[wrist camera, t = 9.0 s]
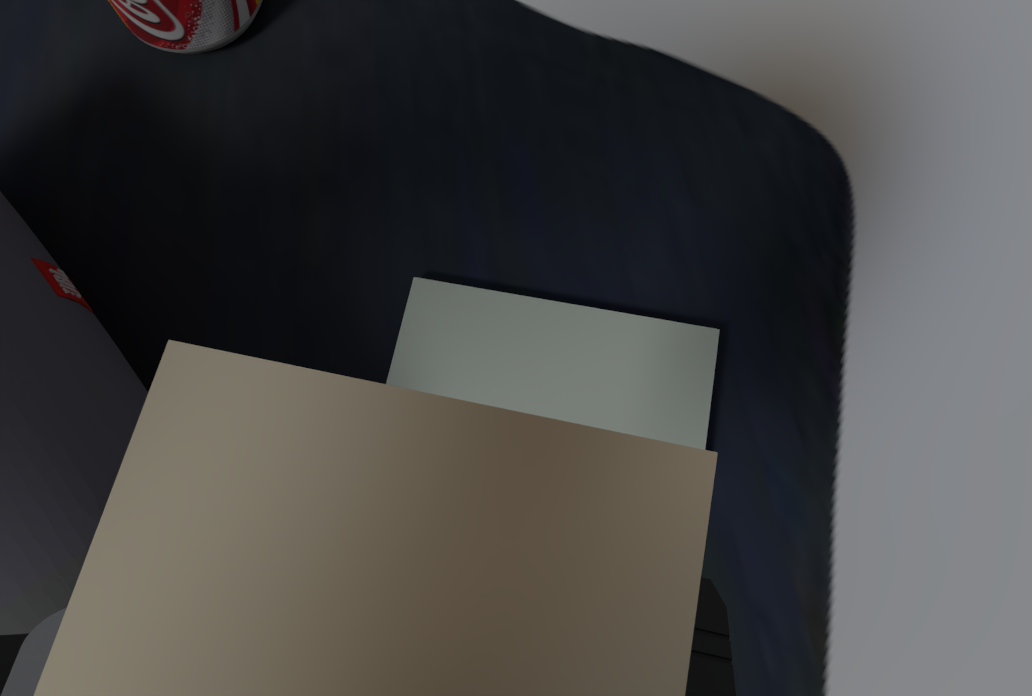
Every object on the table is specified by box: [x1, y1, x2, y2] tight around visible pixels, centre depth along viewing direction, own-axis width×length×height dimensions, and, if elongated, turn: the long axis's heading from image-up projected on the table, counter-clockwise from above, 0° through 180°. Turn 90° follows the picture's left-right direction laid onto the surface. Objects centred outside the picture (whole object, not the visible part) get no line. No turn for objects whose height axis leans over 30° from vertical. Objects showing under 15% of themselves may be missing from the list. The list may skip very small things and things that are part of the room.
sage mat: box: [386, 277, 720, 450], centre depth 29 cm, size 13×17×1 cm
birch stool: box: [34, 340, 718, 696], centre depth 11 cm, size 6×6×10 cm
